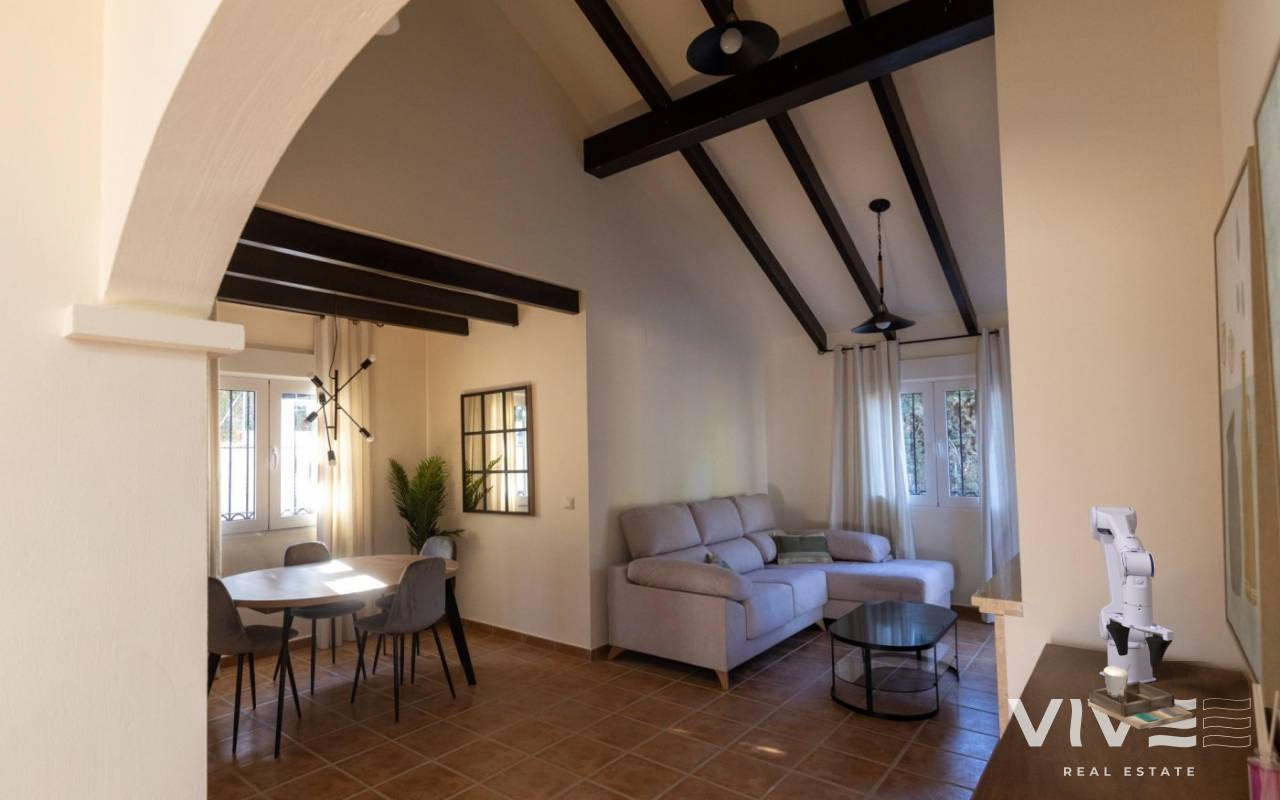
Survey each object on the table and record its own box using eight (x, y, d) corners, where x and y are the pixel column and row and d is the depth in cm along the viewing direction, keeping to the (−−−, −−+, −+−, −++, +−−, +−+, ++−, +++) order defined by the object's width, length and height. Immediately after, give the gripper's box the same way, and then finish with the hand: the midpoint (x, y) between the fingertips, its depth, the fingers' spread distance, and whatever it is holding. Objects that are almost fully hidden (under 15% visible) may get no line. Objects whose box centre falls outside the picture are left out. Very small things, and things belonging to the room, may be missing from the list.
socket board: (1138, 695, 159) (1137, 680, 159) (1192, 717, 148) (1192, 701, 148) (1088, 705, 155) (1087, 690, 155) (1140, 729, 143) (1139, 713, 143)
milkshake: (1137, 712, 149) (1136, 668, 149) (1111, 711, 150) (1110, 667, 150) (1126, 703, 153) (1124, 660, 153) (1100, 702, 154) (1099, 659, 154)
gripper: (1095, 596, 161) (1096, 652, 161) (1156, 614, 147) (1158, 675, 147) (1116, 593, 163) (1118, 648, 163) (1179, 610, 149) (1181, 670, 149)
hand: (1139, 660), depth 155 cm, fingers open, 7 cm apart
